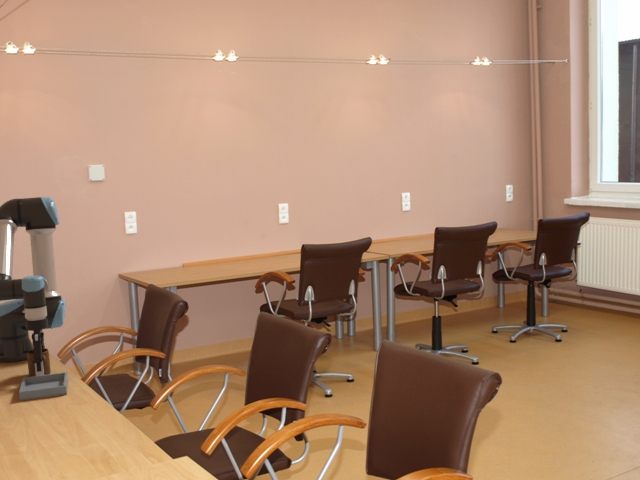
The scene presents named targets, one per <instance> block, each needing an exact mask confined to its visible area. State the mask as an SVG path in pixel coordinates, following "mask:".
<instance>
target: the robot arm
mask: <svg viewBox="0 0 640 480" xmlns="http://www.w3.org/2000/svg"><path fill="white" fill-rule="evenodd" d="M59 224H60V219H59V214H58V209H57V205H56V202H55V200H54V198H52V197H48V196H37V197H27V198H26V197H24V198H12V199H9V200H7V201H6V202H4V203H2V205H0V302H1V303H0V363H12V362H20V361H25V360H27V352H28V351H30V350H34V361H32V363H35V372H36V376H40V375H44V369H43V361H42V349H47V348H45V347H46V346H45V332H43V330H47V329H48V330H49V329H51V330H53V329H57V328H61V327H62V326H64V324H65V317H66V299H65V298H62V294H61V293H60V292H58V289H57V276H56V264H55V253H54V252H55V250H54V237H53V233H54V232H55V231H57V228H56V227H57V226H58V225H59ZM22 227H23V228H25V232H26V233H27V234H29V239H30V249H31V250H30V251H31V265H32V275H28V276H24V277H22V278H15V279H13V267H14V250H15V249H14V246H15V234H16V232H17V231H18V228H22ZM2 301H3V302H2ZM29 331H31V332H33V333H31V338H30V333H29ZM31 339H32V340H31ZM38 358H40V359H38Z"/></svg>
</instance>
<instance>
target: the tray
mask: <svg viewBox="0 0 640 480" xmlns="http://www.w3.org/2000/svg"><path fill="white" fill-rule="evenodd" d="M68 377H69V376H68V371H64V372H59V373H58V372H57V373H56V372H55V373H50V374H48V375H40V376H32V377H30V376H25V377H23V378H22V380H21V385H20V387H19V391H18V395H19V401H20V402H22V401H28V400H29V401H30V400H35V399H36V400H38V399H43V398H45V399H46V398H49V397H50V398H51V397H58V396H65V395H67V394H68V385H69V378H68Z"/></svg>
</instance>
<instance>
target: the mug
mask: <svg viewBox="0 0 640 480" xmlns="http://www.w3.org/2000/svg"><path fill="white" fill-rule="evenodd" d="M38 359H40V358H38ZM50 359H51V358H50V352H49V349H48V348H46V349H42V361H43V369H44V375H48V374H51V372H52V371H51V361H50ZM26 361H27V368H28V370H27V371H28V377H32V376H36V372H35V363H32V361H34V350H30V351H28V352H27V359H26Z"/></svg>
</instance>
